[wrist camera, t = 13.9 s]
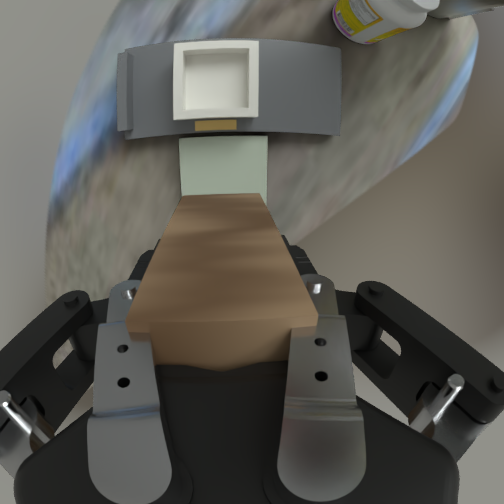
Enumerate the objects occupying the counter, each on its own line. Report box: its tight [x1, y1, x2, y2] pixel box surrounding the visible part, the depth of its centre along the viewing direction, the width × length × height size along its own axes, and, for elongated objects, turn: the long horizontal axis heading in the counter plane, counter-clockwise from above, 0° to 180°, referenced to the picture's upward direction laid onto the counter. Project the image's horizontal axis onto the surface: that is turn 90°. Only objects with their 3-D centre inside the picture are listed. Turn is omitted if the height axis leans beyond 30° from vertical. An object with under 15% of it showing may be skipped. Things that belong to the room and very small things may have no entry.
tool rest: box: [179, 135, 268, 205], centre depth 29 cm, size 9×9×1 cm
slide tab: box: [173, 40, 259, 120], centre depth 22 cm, size 7×7×4 cm
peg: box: [125, 193, 318, 371], centre depth 11 cm, size 4×4×10 cm
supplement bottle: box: [332, 0, 440, 44], centre depth 16 cm, size 7×7×13 cm
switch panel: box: [117, 38, 341, 140], centre depth 23 cm, size 22×10×4 cm, turn 90°
